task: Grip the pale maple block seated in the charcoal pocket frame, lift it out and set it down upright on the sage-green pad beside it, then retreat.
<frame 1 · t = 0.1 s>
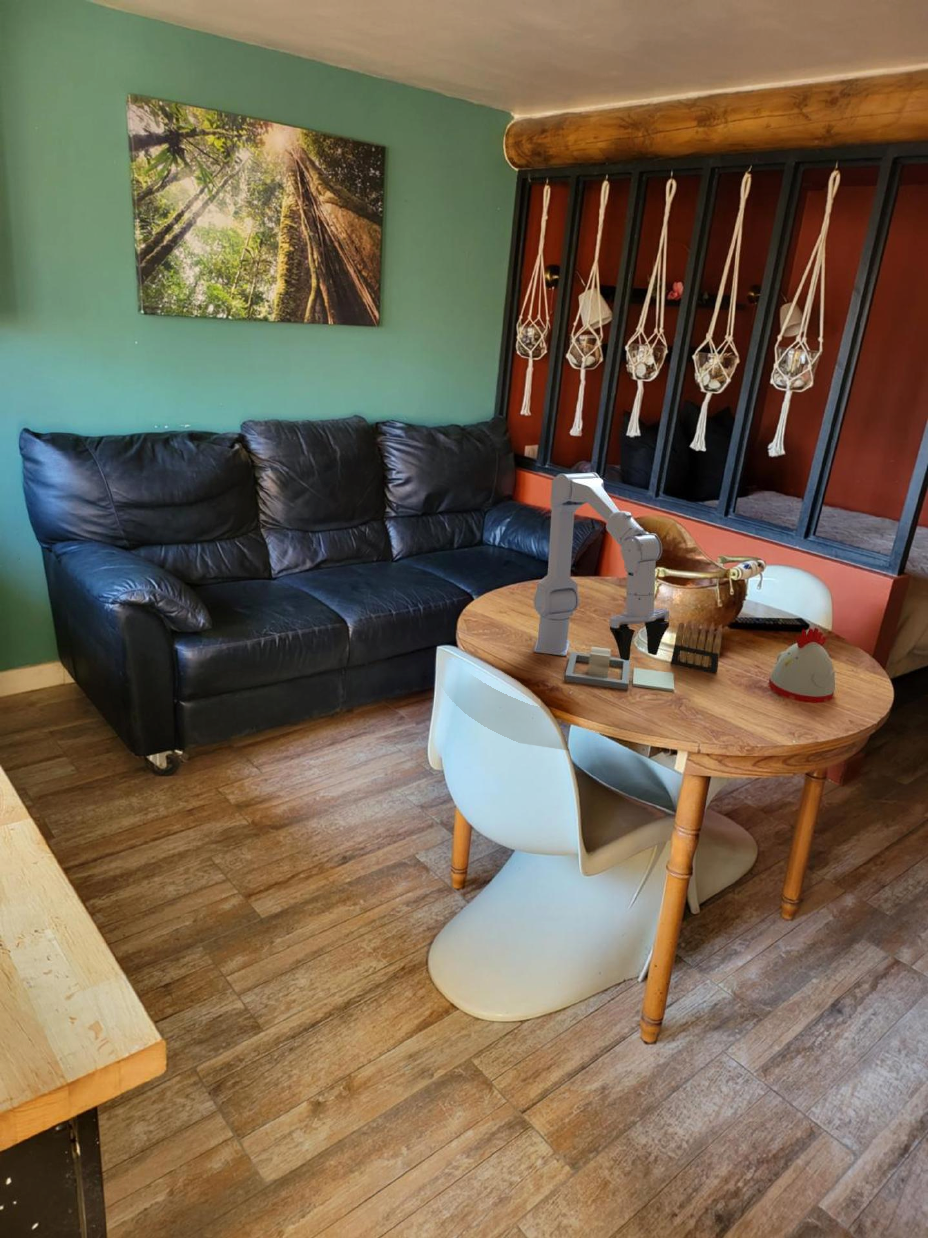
hand: (638, 656, 174), 10 cm above the table, tool pointing down, fingers open, 7 cm apart
pocket frame: (597, 673, 191), on the table
green pad: (653, 680, 189), on the table
kitchen timer: (800, 690, 189), on the table
maple block: (599, 662, 190), in the pocket frame
ammunition clip: (693, 668, 197), on the table
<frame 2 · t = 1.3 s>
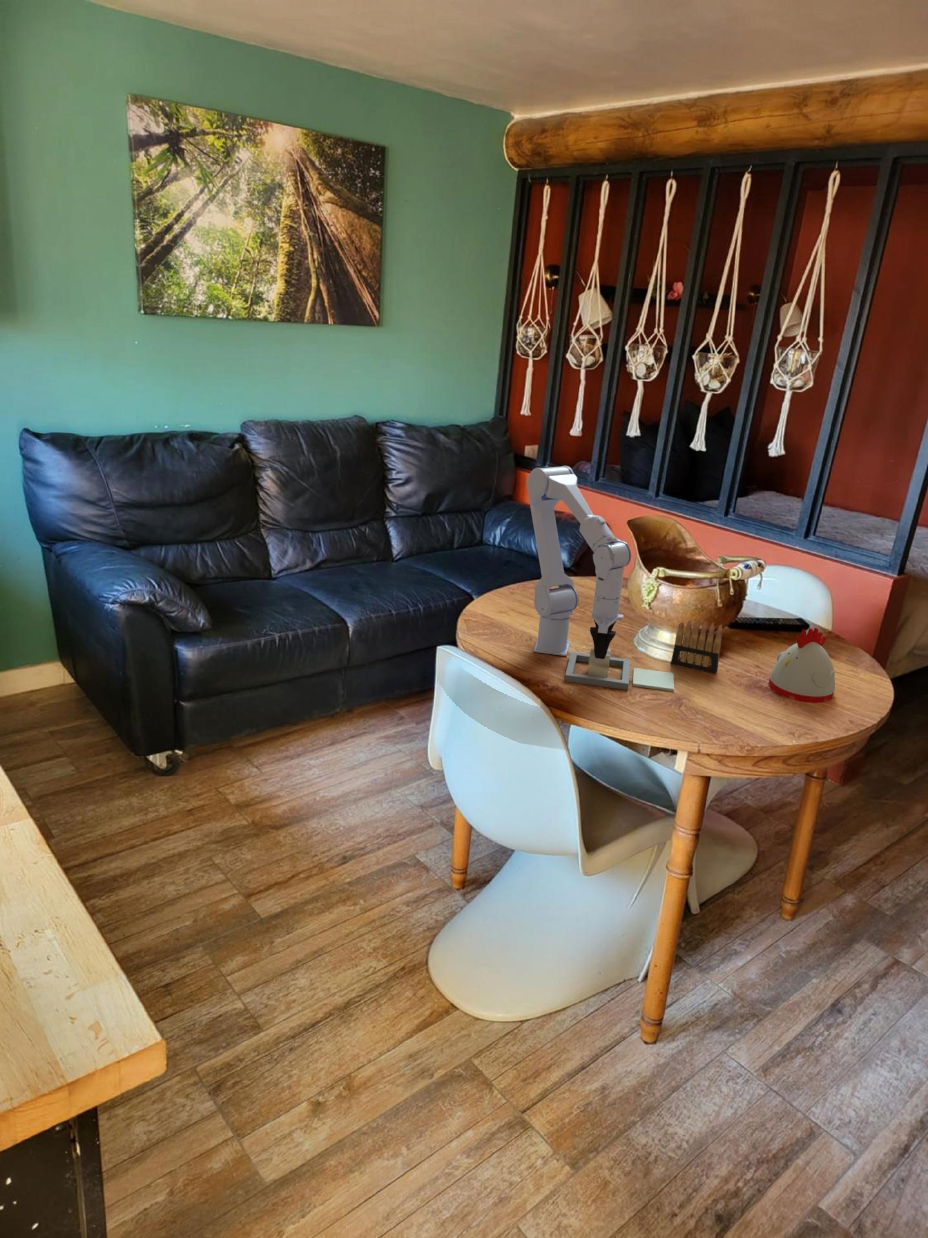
hand: (600, 651, 189), 5 cm above the table, tool pointing down, fingers open, 7 cm apart
nothing on the table moved.
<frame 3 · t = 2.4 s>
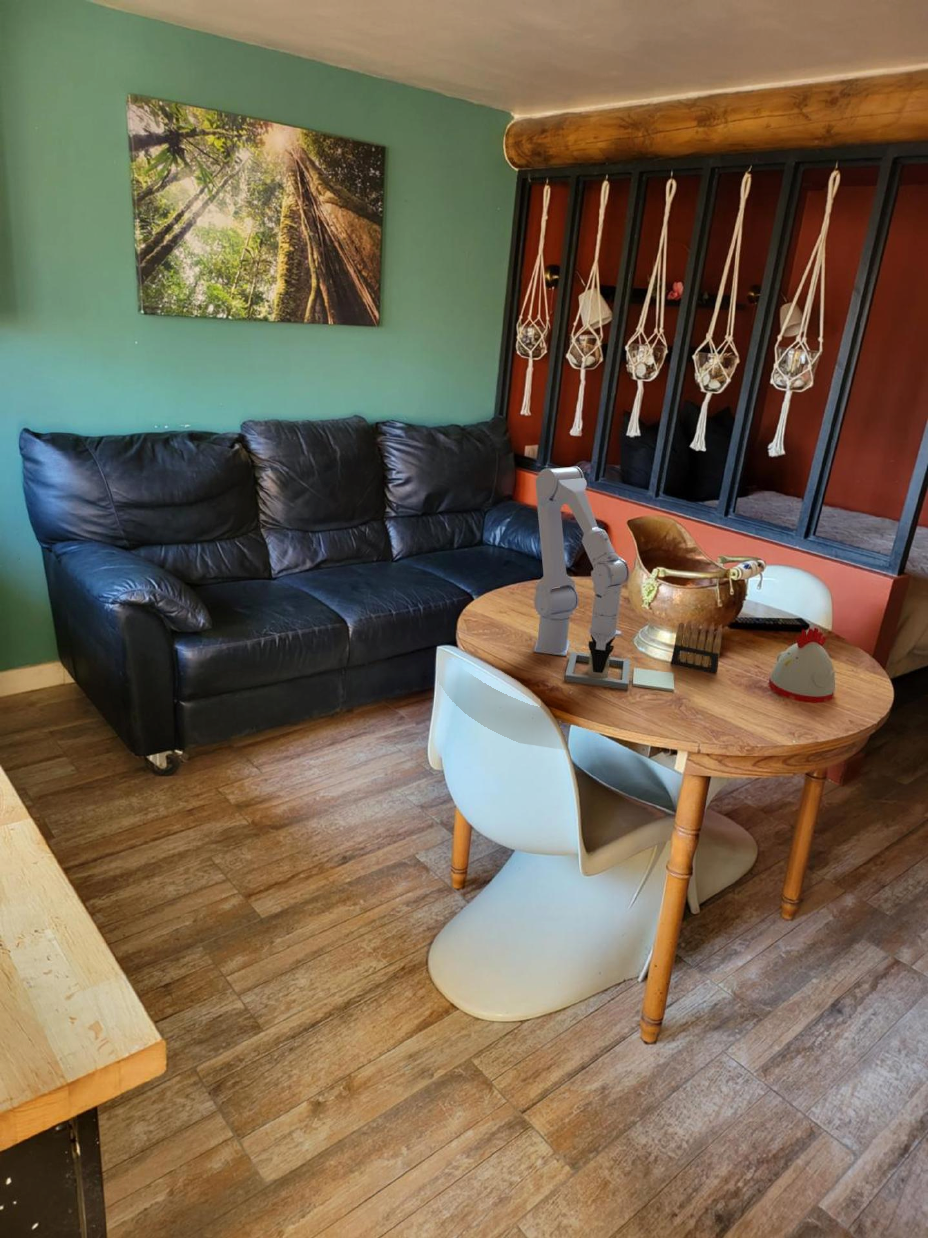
hand: (598, 667, 191), 1 cm above the table, tool pointing down, fingers closed on maple block, 4 cm apart
maple block: (599, 662, 190), in the pocket frame, touching gripper
everything else where it was.
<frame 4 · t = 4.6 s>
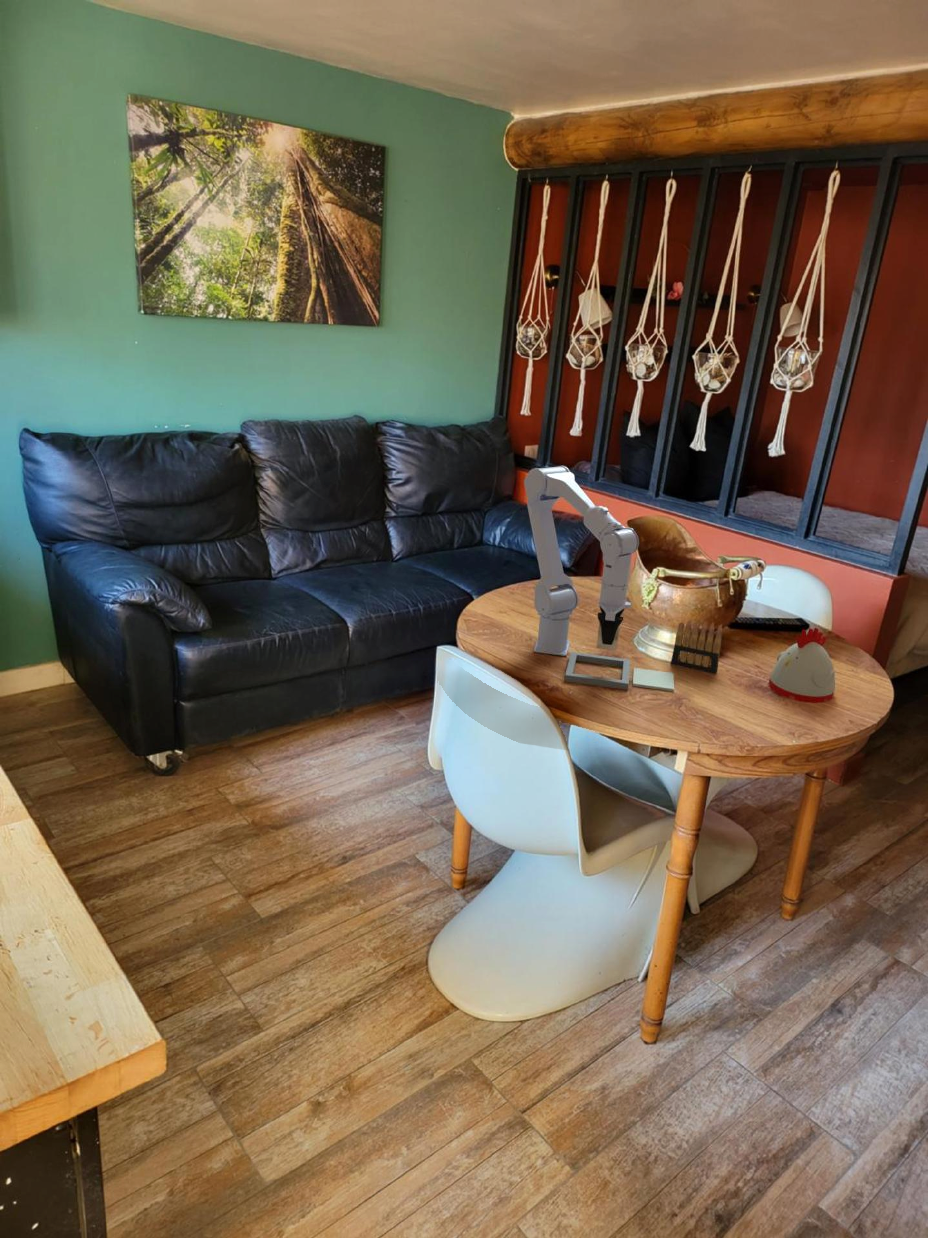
hand: (607, 639, 188), 8 cm above the table, tool pointing down, fingers closed on maple block, 4 cm apart
maple block: (608, 634, 187), point 10 cm above the table, touching gripper
everything else where it was.
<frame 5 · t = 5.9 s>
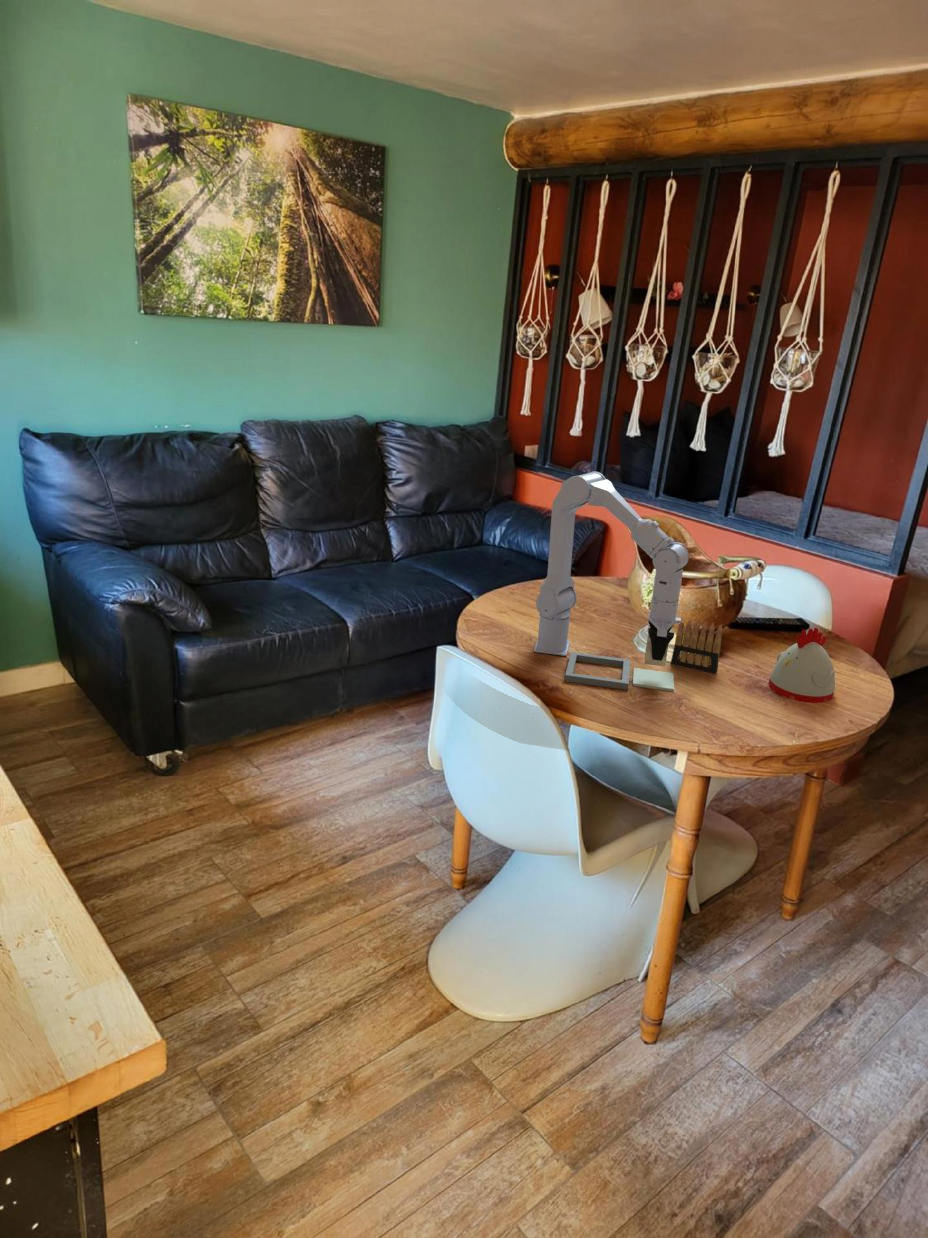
hand: (656, 655, 187), 6 cm above the table, tool pointing down, fingers closed on maple block, 4 cm apart
maple block: (656, 650, 186), point 8 cm above the table, touching gripper
everything else where it was.
when the fingers open (3 cm above the table, at t = 6.9 s): maple block stays where it is, resting on green pad.
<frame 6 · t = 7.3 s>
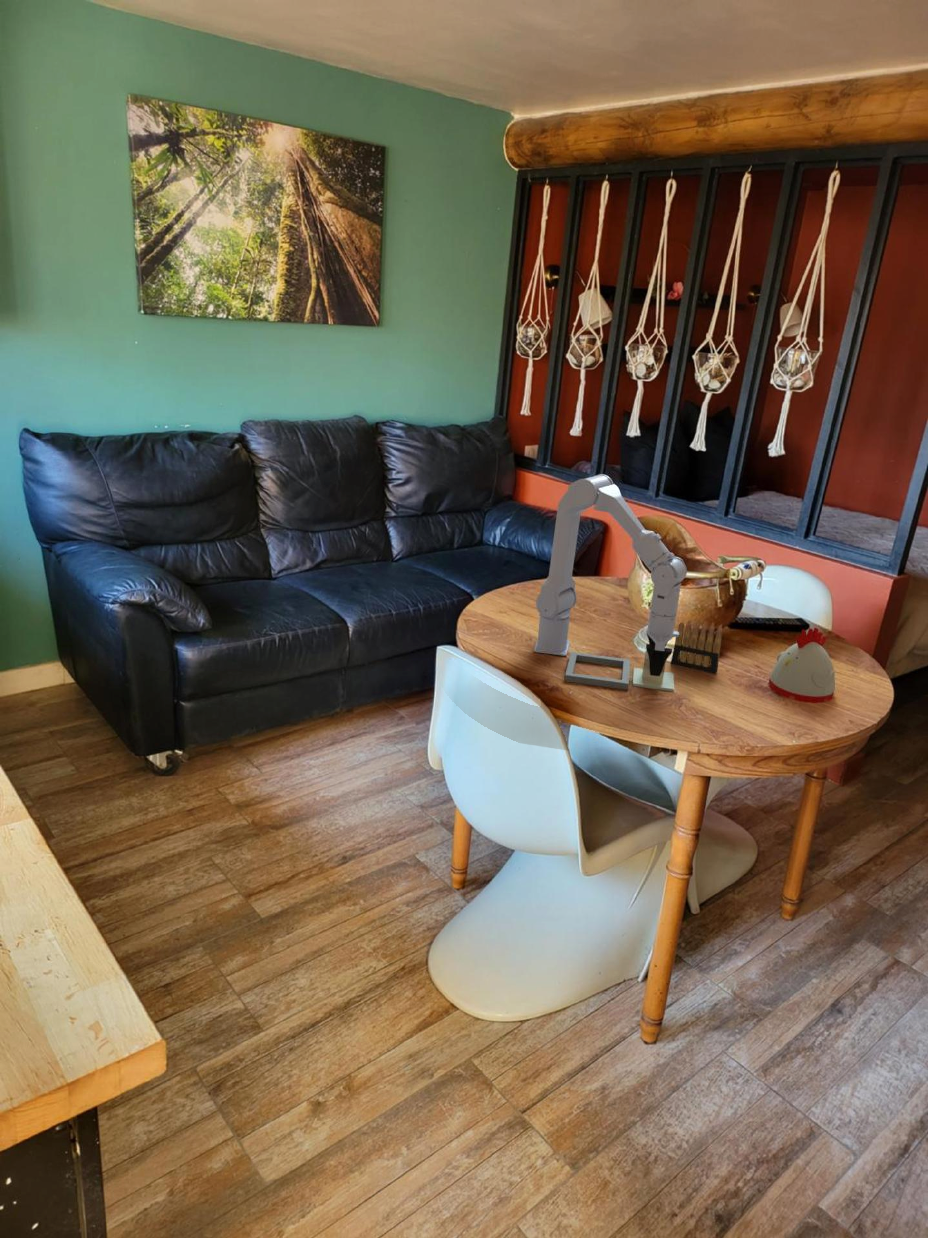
hand: (654, 668, 188), 3 cm above the table, tool pointing down, fingers open, 7 cm apart
maple block: (654, 666, 188), on the green pad, point 3 cm above the table
everything else where it was.
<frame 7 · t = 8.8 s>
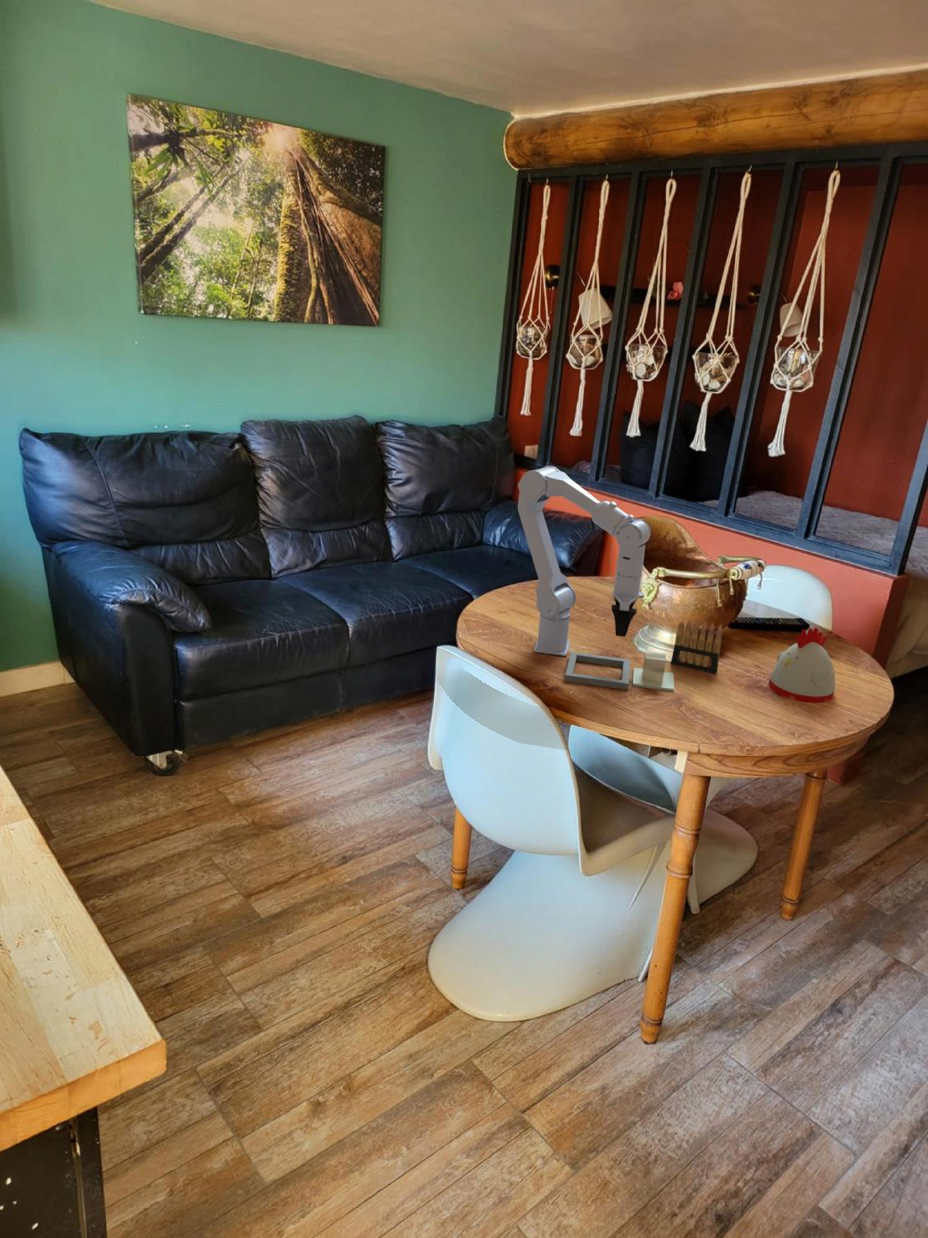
hand: (621, 629, 192), 9 cm above the table, tool pointing down, fingers open, 7 cm apart
nothing on the table moved.
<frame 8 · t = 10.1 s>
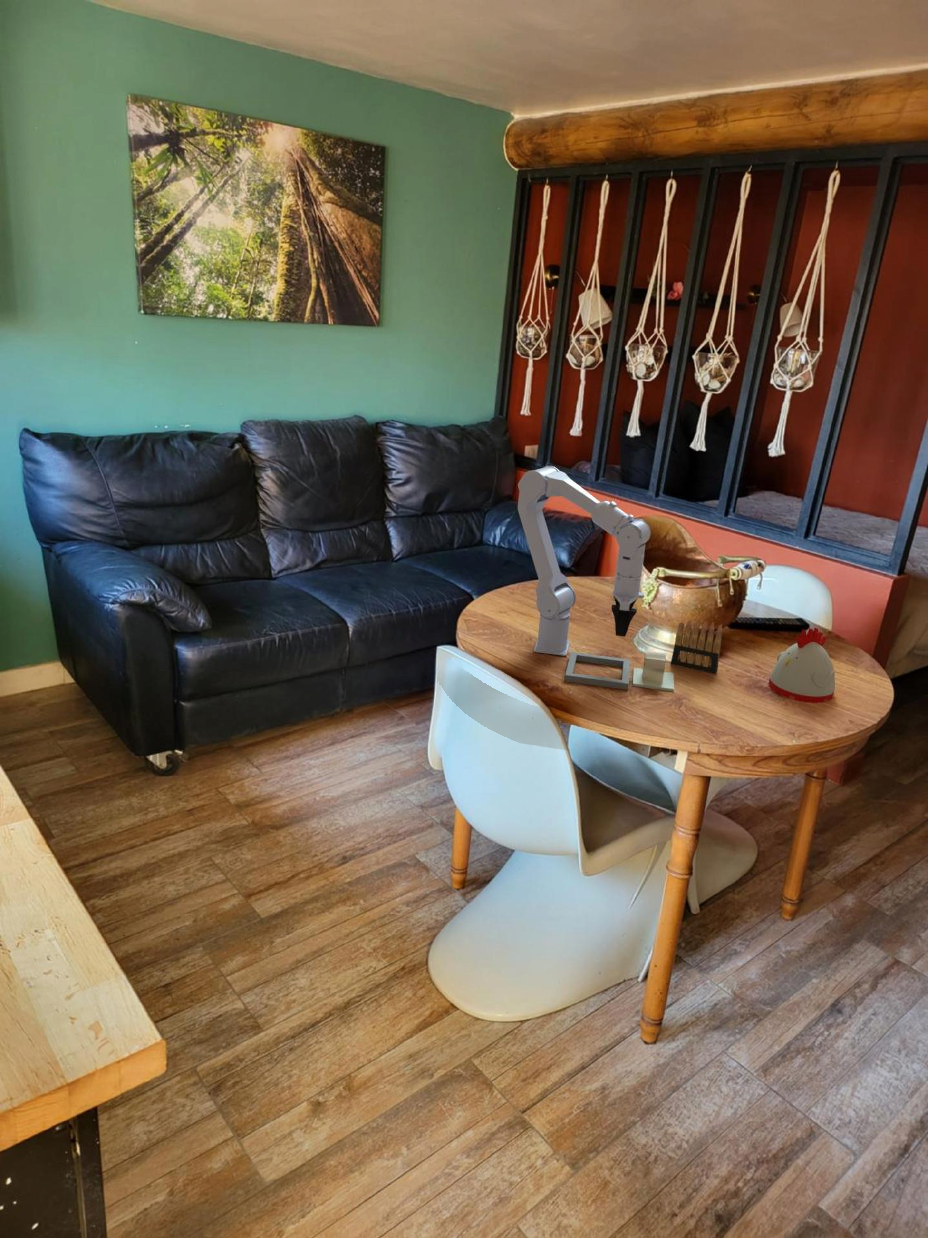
hand: (621, 629, 192), 9 cm above the table, tool pointing down, fingers open, 7 cm apart
nothing on the table moved.
at the end: maple block 0.2 cm off-centre on the green pad, point 3.3 cm above the green pad's base; maple block tilted 0°; the gripper is holding nothing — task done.
